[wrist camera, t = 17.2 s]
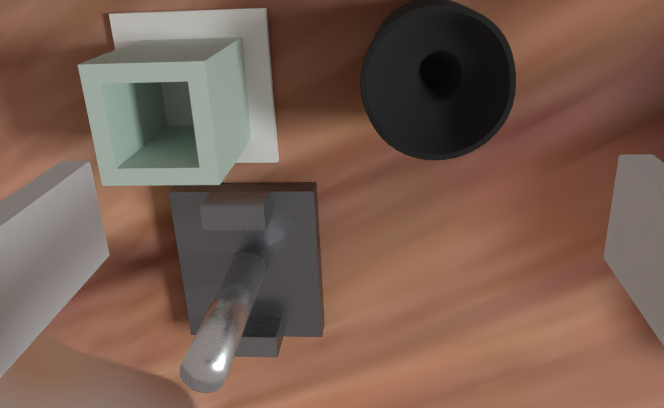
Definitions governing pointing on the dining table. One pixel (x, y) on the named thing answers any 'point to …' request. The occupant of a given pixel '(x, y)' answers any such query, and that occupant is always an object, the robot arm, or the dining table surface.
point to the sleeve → (150, 118)
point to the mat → (214, 25)
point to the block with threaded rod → (246, 272)
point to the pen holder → (438, 80)
